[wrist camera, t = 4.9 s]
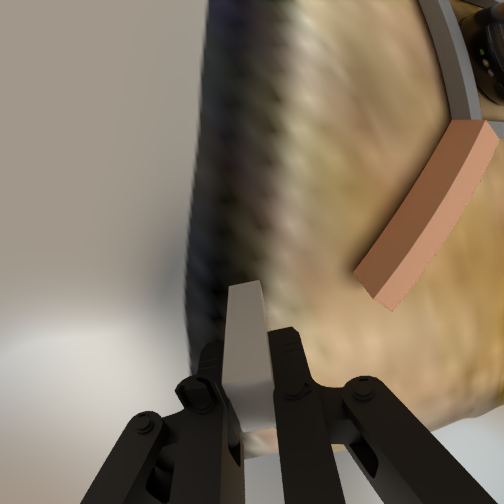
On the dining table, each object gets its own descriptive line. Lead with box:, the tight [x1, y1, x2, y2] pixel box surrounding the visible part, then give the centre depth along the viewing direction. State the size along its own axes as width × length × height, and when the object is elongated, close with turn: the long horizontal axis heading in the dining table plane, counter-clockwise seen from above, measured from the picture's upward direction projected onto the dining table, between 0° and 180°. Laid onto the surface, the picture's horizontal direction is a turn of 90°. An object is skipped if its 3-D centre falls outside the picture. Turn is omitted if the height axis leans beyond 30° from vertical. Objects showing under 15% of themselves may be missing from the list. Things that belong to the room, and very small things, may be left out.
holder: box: [353, 0, 504, 311], centre depth 11 cm, size 19×18×3 cm
